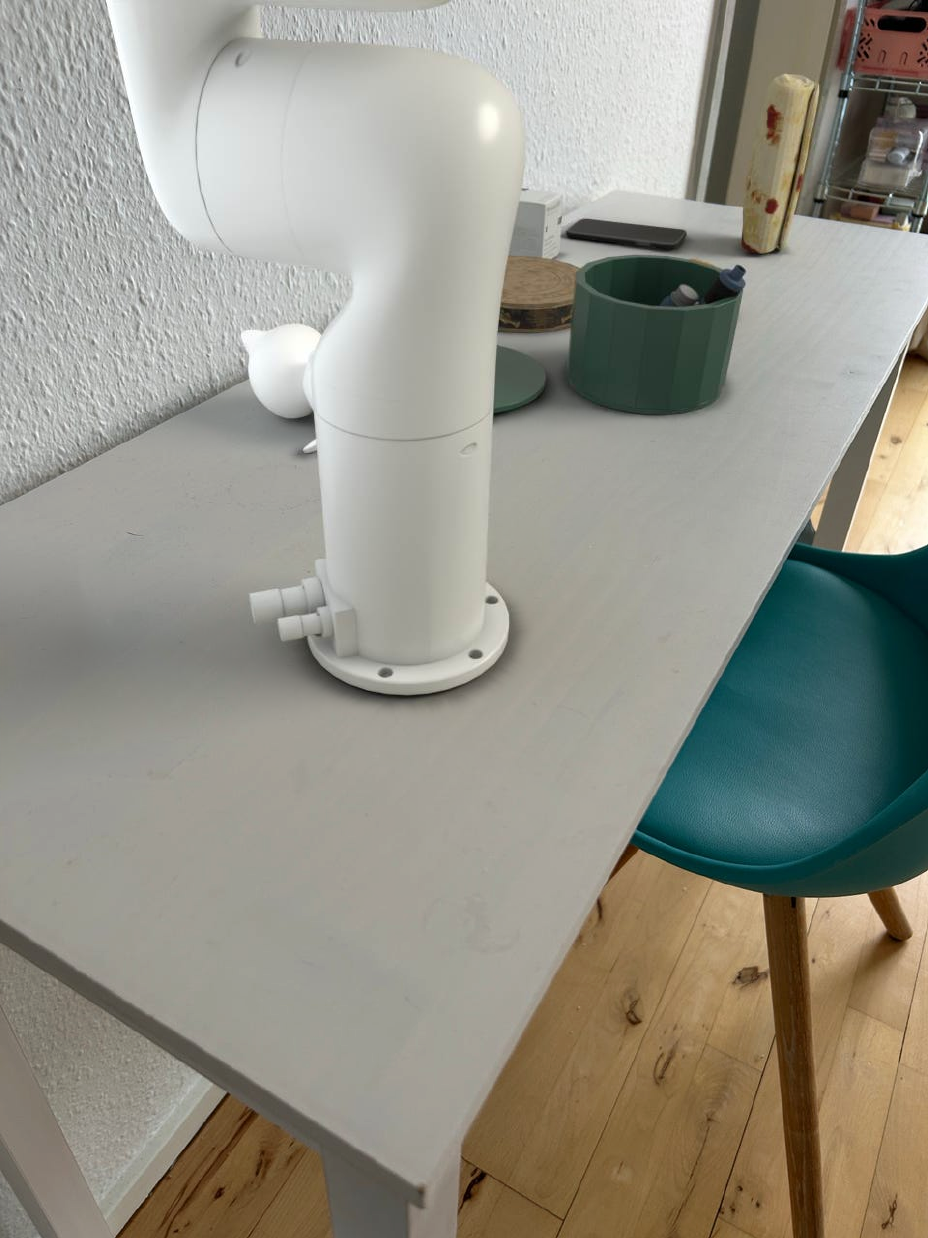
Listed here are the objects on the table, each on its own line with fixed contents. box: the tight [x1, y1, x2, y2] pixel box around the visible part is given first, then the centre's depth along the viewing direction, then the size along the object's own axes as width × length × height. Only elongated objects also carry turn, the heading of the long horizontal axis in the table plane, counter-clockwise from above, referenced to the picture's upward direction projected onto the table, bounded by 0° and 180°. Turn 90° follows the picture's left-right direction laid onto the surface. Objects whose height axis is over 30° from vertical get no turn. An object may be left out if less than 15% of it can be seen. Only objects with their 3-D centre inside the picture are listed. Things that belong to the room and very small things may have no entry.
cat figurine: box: [240, 322, 322, 454], centre depth 80 cm, size 9×11×12 cm
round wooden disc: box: [498, 256, 581, 334], centre depth 105 cm, size 16×16×3 cm
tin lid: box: [493, 344, 547, 414], centre depth 87 cm, size 16×16×7 cm
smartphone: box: [566, 218, 687, 251], centre depth 127 cm, size 7×1×15 cm
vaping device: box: [660, 264, 747, 307], centre depth 85 cm, size 3×5×12 cm, turn 87°
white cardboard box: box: [508, 187, 564, 259], centre depth 117 cm, size 6×6×7 cm
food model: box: [740, 73, 820, 254], centre depth 118 cm, size 10×7×20 cm
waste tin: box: [566, 254, 744, 416], centre depth 88 cm, size 15×15×10 cm
